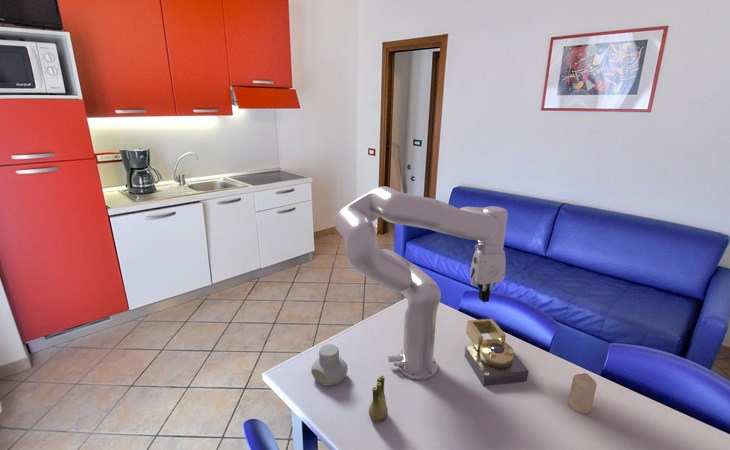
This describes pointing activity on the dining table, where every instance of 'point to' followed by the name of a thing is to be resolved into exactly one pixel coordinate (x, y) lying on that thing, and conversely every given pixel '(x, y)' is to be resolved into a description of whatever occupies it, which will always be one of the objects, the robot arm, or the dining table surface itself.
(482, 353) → the brass mechanical fitting
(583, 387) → the candle
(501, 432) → the dining table surface
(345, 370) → the air freshener
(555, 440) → the dining table surface
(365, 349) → the dining table surface
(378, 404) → the fennel bulb
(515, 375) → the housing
